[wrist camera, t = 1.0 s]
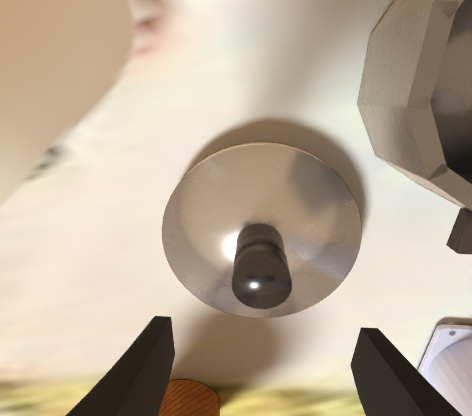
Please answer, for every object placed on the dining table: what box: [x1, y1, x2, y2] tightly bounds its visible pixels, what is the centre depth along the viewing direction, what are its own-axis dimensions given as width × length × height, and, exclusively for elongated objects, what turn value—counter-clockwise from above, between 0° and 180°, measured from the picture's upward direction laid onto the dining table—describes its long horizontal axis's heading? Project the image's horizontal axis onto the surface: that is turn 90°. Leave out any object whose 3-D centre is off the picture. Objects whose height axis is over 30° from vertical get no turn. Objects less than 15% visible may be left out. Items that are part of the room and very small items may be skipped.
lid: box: [162, 142, 362, 318], centre depth 16 cm, size 13×13×6 cm
